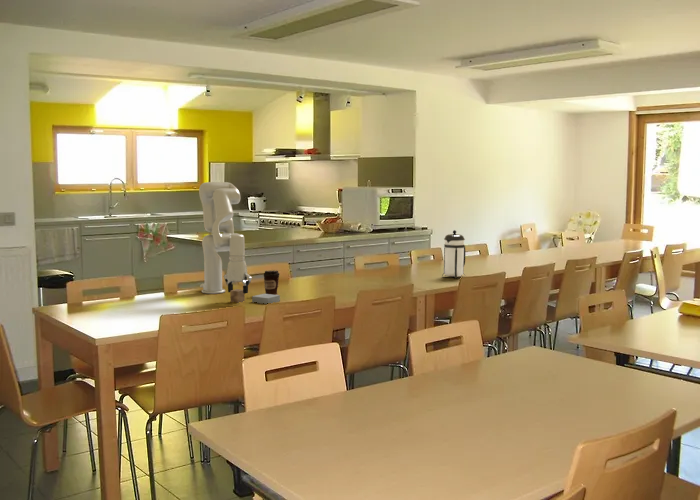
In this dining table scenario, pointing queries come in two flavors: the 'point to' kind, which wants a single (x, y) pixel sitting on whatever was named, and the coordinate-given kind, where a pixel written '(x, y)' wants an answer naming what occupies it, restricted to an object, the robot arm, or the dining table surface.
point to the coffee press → (454, 255)
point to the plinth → (266, 298)
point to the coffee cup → (271, 282)
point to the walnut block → (237, 296)
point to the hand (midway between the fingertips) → (238, 292)
